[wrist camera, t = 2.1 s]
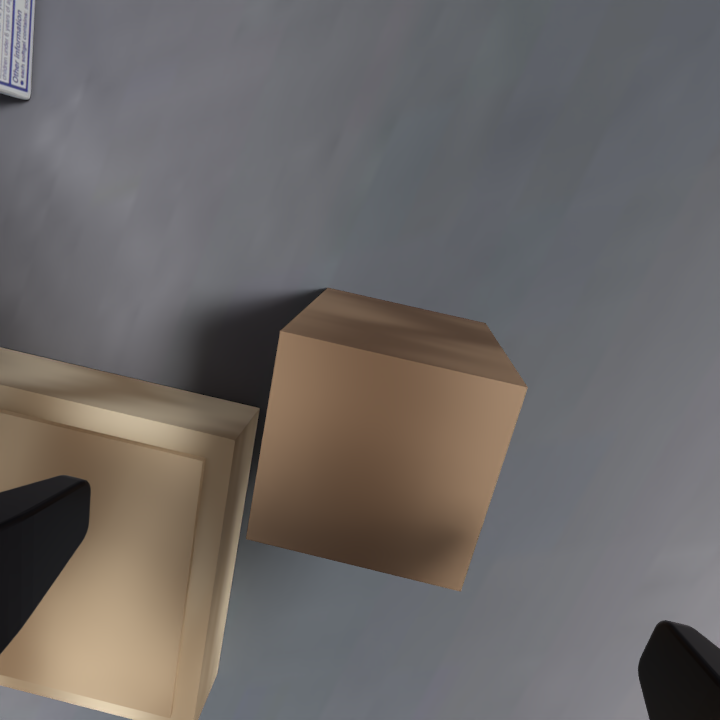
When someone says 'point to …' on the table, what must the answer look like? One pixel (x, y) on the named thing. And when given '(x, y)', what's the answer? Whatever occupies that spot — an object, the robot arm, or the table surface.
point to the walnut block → (384, 437)
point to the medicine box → (16, 47)
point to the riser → (128, 535)
